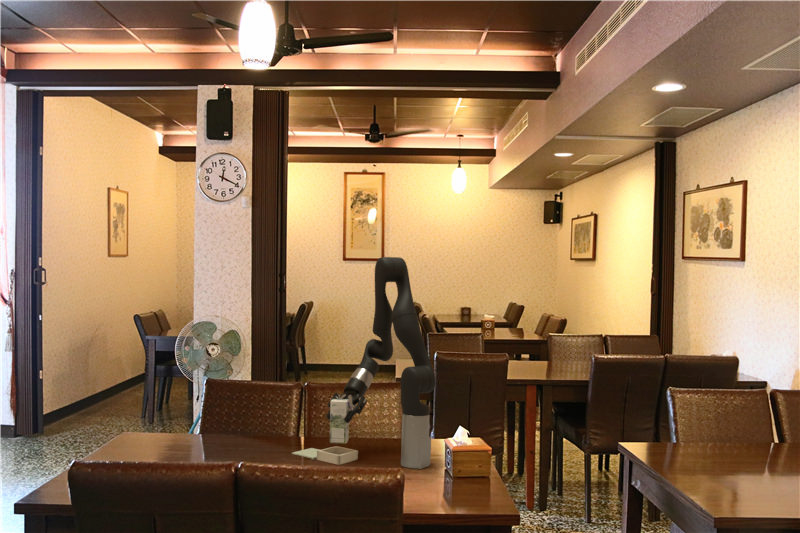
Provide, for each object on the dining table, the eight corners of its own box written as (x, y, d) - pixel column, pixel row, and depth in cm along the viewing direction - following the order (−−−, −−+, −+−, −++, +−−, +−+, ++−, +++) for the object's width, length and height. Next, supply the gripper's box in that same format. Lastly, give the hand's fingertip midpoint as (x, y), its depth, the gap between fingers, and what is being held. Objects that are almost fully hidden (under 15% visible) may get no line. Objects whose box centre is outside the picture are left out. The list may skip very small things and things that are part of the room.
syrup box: (348, 440, 214) (349, 398, 215) (345, 444, 208) (346, 401, 209) (332, 440, 215) (333, 398, 216) (329, 443, 209) (330, 400, 210)
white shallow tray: (360, 458, 214) (361, 449, 214) (335, 465, 203) (336, 456, 203) (314, 448, 226) (314, 440, 227) (288, 454, 216) (289, 446, 216)
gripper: (339, 375, 223) (316, 411, 213) (370, 378, 215) (347, 415, 205) (348, 388, 227) (326, 424, 217) (378, 392, 219) (357, 429, 209)
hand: (337, 420), depth 211 cm, fingers closed on syrup box, 7 cm apart
